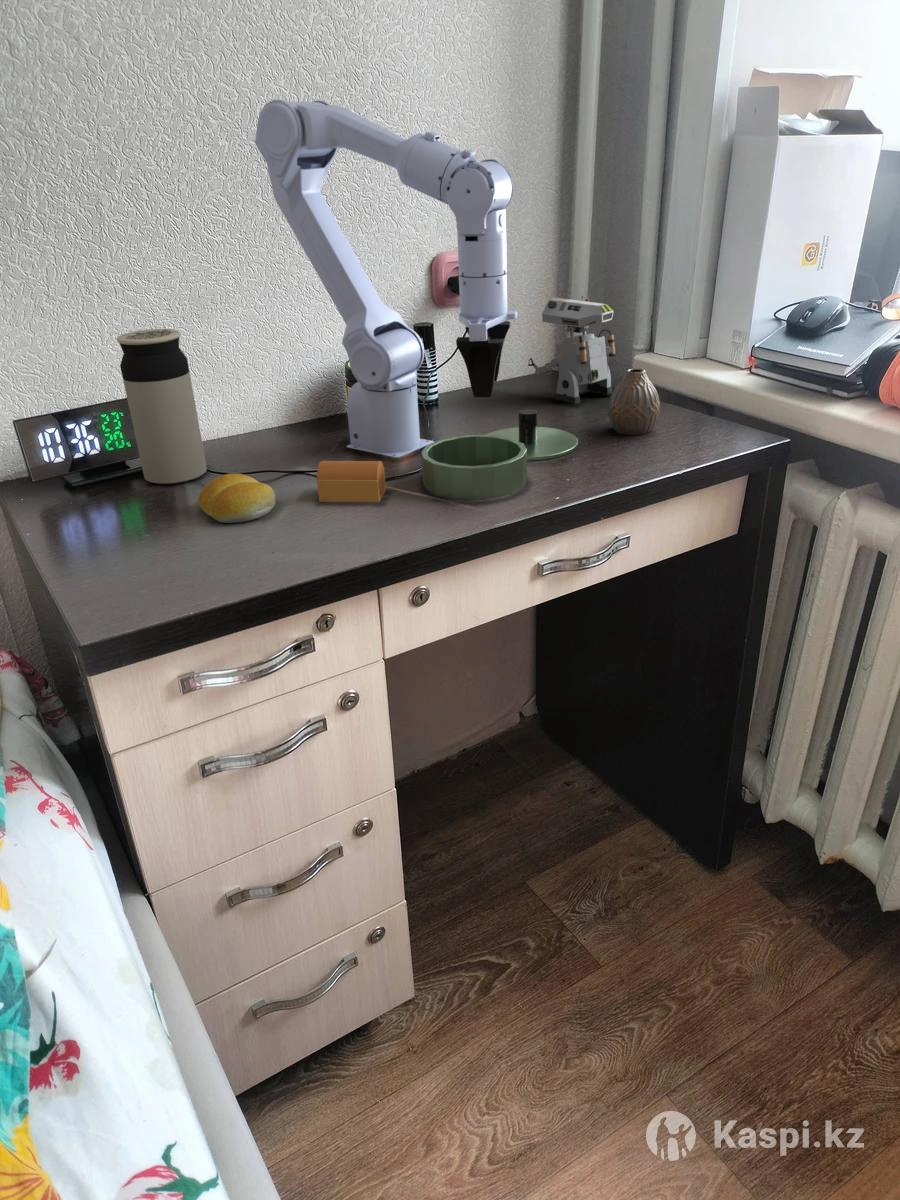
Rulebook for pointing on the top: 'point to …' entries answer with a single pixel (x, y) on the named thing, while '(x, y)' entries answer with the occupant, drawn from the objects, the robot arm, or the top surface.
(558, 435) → the lid
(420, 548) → the top surface
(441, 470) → the pot
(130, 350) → the travel mug
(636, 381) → the vase
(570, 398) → the figurine
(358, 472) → the loaf
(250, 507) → the bread roll
